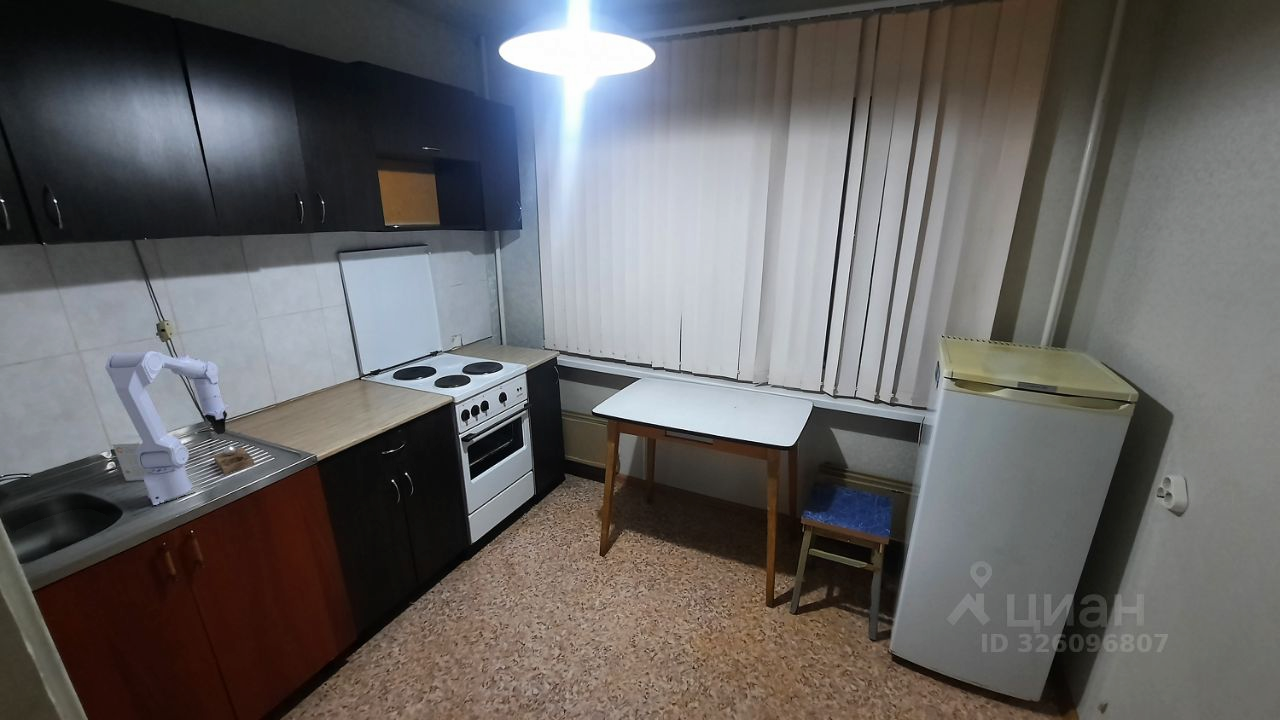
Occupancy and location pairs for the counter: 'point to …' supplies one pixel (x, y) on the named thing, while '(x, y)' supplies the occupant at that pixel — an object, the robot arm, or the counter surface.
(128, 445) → the small box
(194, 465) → the counter surface
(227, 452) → the steel ball
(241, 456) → the hole plate
